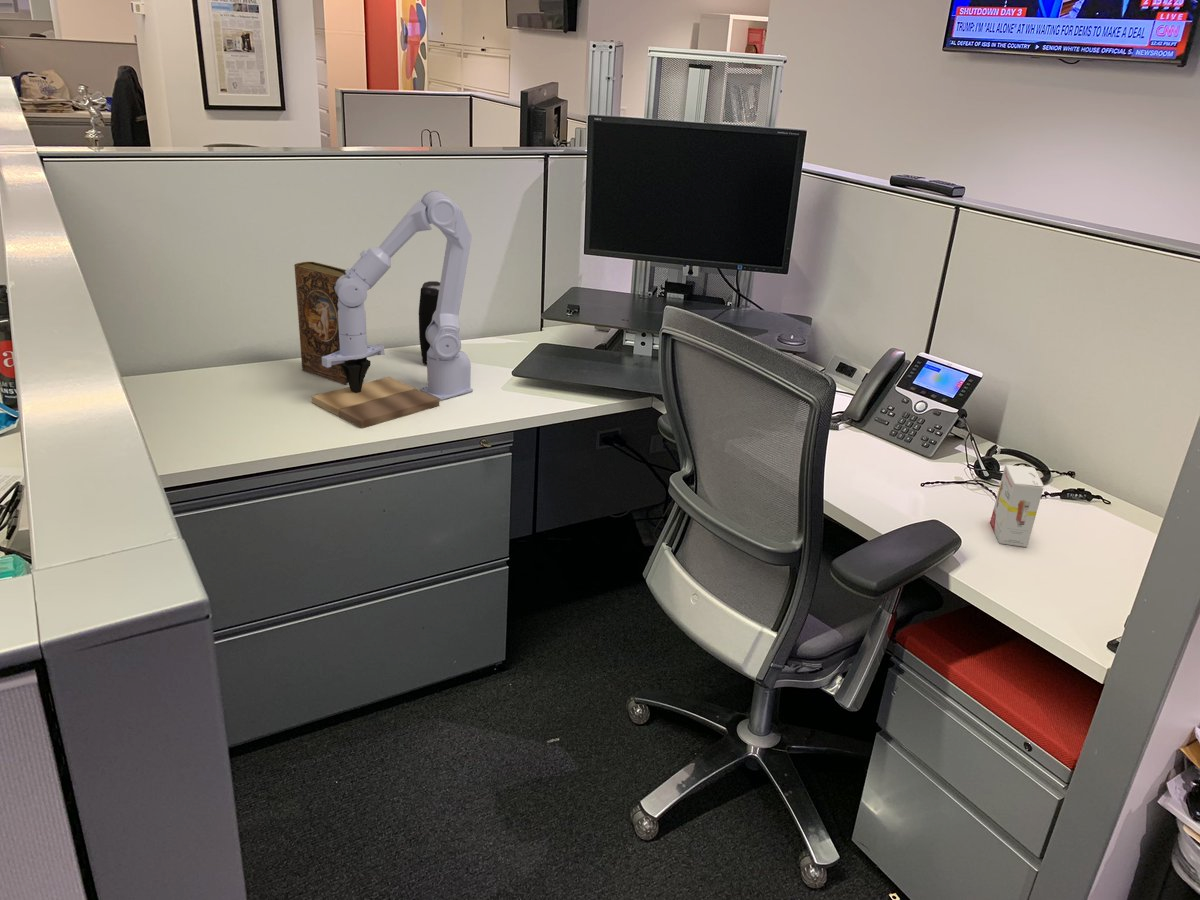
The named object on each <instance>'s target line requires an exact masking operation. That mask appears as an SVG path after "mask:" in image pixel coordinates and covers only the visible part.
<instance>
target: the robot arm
mask: <svg viewBox="0 0 1200 900" xmlns="http://www.w3.org/2000/svg"><path fill="white" fill-rule="evenodd" d="M431 224H432V225H433V226H435V228H437V229H439V230H440V232H441V233H442V234H443V236H444V237H445V238H446V244H445V251H444V256H443V257H444V258H443V264H442V270H441V276H440V288H439V294H438V301H437V307H436V310H435V312H434V314H433V316H432V321H431V323H430V325H429V326H428V327H427V329H426V339H427V341H428V343H429V344H430V348H429V350H428V351H427V362H426V370H427V372H426V373H427V375H426V376H427V379H426V380H427V382H426V383H427V386H424V387H420V388H419V389H418V390H420V391H422V392H425V393H427V394H429V395H431V396H434V397H436V398H438V399H439V401H441V400H442V401H444V400H447V399H450V398H451V399H452V398H454V397H457V396H460V395H463V394H469V393H471V392H473V391H474V389H473V388H471V384H472V383H471V381H472V379H471V374H472V373H471V372H472V371H471V360H470V358H469V356H468V354H467V353H466V352H465V351H463V350H461V349H462V341H461V338H460V328H461V327H460V326H461V325H460V318H459V315H460V309H461V303H462V297H463V290H464V286H465V280H466V279H465V278H466V273H467V268H468V267H467V266H468V261H469V254H470V249H471V243H472V234H471V233H472V232H471V231H470V228H469V226H468V224H467V221H466V219H465V217H464V213H463V210H462V209H461V208H460V206H459V205H457V204H456V203H455V201H454V200H453V199H451V198H449V197H448V196H447V195H446V194H445V193H444V192H442V191H440V190H436V189H433V190H429V191H427V192H426V193H424V194H423V195H422V197H421V200H420V199H419V200H417V201H416V202H415V203H413V204H412V206H411V207H410V208H409V210H408V211H407V212H406V214H405V215H404V216H403V217H402V219H400V221H399V222H398V223H397V225H395V227H394V228H393V229H392V230H391V232H390V233H389V234H388V235H387V236H386V237H385V239H384V240H383V241H382V242H381V243H380V244H379V246H376V247H369V248H368V249H367V250H365V249H363V250H362V251H361V252H360V253H359V255H360V257H359V259H358V260H357V261H356V262H355V263H354V264H353V265H352V267H350V269H349V268H346V269H345V270H346V271H345V273H346V275H343V276H341V277H340V278H339V279H338V280H337V282H336V286H335V287H334V288H335V292H336V294H337V295H338V298H339V299H338V327H339V343H340V350H339V351H337V352H334V353H332V354H329V355H327V356H323V357H322V365H323V366H325V367H327V368H328V367H331V366H332V365H336V364H339V365H340V367H341V368H342V370H343V372H344V373H345V375H346V378H347V380H348V387H350V390H351V391H352V392H354V393H359V392H361V389H362V384H363V383H364V380H365V378H364V377H366V374H367V372H368V371H369V368H370V367H371V360H369V359H368V358H371V357H375V356H384V355H386V354H385V353H386V350H385V346H384V345H382V344H373V345H368V341H367V337H368V336H367V335H368V334H367V317H366V313H367V312H366V310H365V302H366V300H367V298H368V291H369V290H371V289H372V288H373V287H374V286H375V285H376V284H377V283H378V281H380V279H381V278H382V277H383V276H384V275H385V274H386V273H387V272H388V271H389V270H390V268H391V266H392V264H391V259H392V257H393V256H394V255H396V253H397V252H398V251H399V250H401V248H403V247H404V245H406V243H407V242H408V241H409V240H410V239H412V237H413V236H414V235H416V234H417V232H425V231H431V230H433V229H432V226H431Z"/></svg>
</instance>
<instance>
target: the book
mask: <svg viewBox="0 0 1200 900" xmlns="http://www.w3.org/2000/svg"><path fill="white" fill-rule="evenodd" d="M293 266H294V275H295V276H294V277H295V290H296V304H297V316H298V317H297V318H298V319H297V320H298V332H299V343H300V355H301V356H300V358H301V371H302V372H305V373H309V374H311V375H314V376H317V377H320V378H324V379H326V380H328V381H333V382H335V383H340V384H342V385H347V384H348V385H349V383H348V380H347V378H346V375H345V373H344V372H343V370H342V368H341V367H340V365H339V364H336V365H332V366H331V367H328V368H327V367H325V366H323V365H322V357H323V356H327V355H329V354H332V353H334V352H337V351H339V350H340V343H339V327H338V299H339V298H338V295H337V294H336V292H335V288H334V287H335V286H336V282H337V280H338V279H339V278H340V277H341V276H343V275H346V273H345V271H346V270H347V269H344V268H340V267H335V266H333V265H328V264H324V263H320V262H316V261H302V262H298V263H295V264H294V265H293ZM365 377H366V376H365ZM365 377H364V379H365Z"/></svg>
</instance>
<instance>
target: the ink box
mask: <svg viewBox="0 0 1200 900" xmlns="http://www.w3.org/2000/svg"><path fill="white" fill-rule="evenodd" d="M998 488H999V489H998V490H997V491H998V492H997V495H996V498H995V503H994V506H993V510H992V514H991V518H990V520H989V522H990V525H991V527H992V530H993V532H994V534H995V537H996V539H997V542H998V543H999V544H1001V545H1002V544H1003V545H1008V546H1009V545H1010V546H1017V547H1024V548H1028V546H1029V541H1030V539H1031V536H1032V535H1031V534H1032V532H1033V528H1034V524H1035V520H1036V515H1037V513H1038V509H1039V505H1040V501H1041V498H1042V496H1043V495H1042V494H1043V492H1044V483H1043V481H1042V479H1041V477H1040V476H1039V474H1038V471H1037V470H1036V468H1035V467H1031V466H1022V465H1021V466H1020V465H1011V464H1005V465H1004V468H1003V472H1002V475H1001V480H1000V485H999V487H998Z"/></svg>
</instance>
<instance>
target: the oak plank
mask: <svg viewBox="0 0 1200 900" xmlns="http://www.w3.org/2000/svg"><path fill="white" fill-rule="evenodd" d="M415 389H417V388H416V387H413V386H411V385H409V384H406V383H404V382H401V381H400V380H397V379H395V378H393V377H391V376H386V377H382V378H379V379H378V378H377V379H375V380H370V381H366V382H363V384H362V389H361V392H359V393H354V392H352V391H351V390H350V386H347V387H342V388H338V389H334V390H330V391H326V392H322V393H319V394H315V395H314V394H313V395H311V402H312V403H313V404H314V405H317V406H318V407H320V408H322V409H324V410H326V411H328V412H330V413H332V414H333V415H335V416H338V417H339V410H340V409H344V408H347V407H351V406H355V405H359V404H362V403H366V402H370V401H374V400H377V399H381V398H385V397H389V396H392V395H396V394H400V393H403V392H407V391H411V390H415Z"/></svg>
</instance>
